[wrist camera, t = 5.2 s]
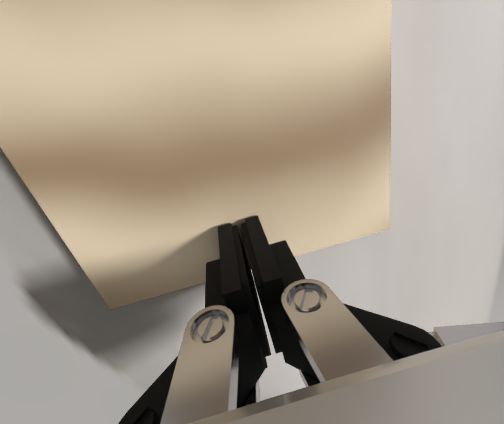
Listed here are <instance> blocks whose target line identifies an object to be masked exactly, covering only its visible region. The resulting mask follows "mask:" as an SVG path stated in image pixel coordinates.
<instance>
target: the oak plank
mask: <svg viewBox="0 0 504 424" xmlns="http://www.w3.org/2000/svg"><path fill="white" fill-rule="evenodd" d="M0 147H1V149H2V150H3V152H4V153H5V155H6V156H7V158H8V159H9V161H10V162H11V164H12V165H13V167H14V168H15V170H16V171H17V173H18V174H19V176H20V177H21V179H22V180H23V182H24V183H25V184H26V186H27V187H28V189H29V190H30V192H31V193H32V195H33V196H34V198H35V199H36V201H37V202H38V204H39V205H40V207H41V208H42V210H43V211H44V213H45V214H46V216H47V217H48V219H49V220H50V221H51V223H52V224H53V226H54V227H55V229H56V230H57V232H58V233H59V235H60V236H61V238H62V239H63V241H64V242H65V244H66V245H67V247H68V248H69V250H70V251H71V253H72V254H73V256H74V257H75V259H76V260H77V261H78V263H79V264H80V266H81V267H82V269H83V270H84V272H85V273H86V275H87V276H88V278H89V279H90V281H91V282H92V284H93V285H94V287H95V288H96V290H97V291H98V293H99V294H100V296H101V297H102V299H103V300H104V301H105V303H106V304H107V306H108V307H109V309H110V310H112V309H116V308H119V307H122V306H126V305H129V304H133V303H136V302H140V301H143V300H147V299H150V298H154V297H157V296H160V295H164V294H167V293H171V292H174V291H178V290H181V289H185V288H188V287H192V286H195V285H198V284H202V283H205V282H206V263H207V262H210V261H213V260H217V259H220V255H219V240H218V226H222V225H225V224H229V223H231V225H232V226H234V225H237V227H238V230H239V233H240V237H241V240H242V243H243V247H244V250H245V253H246V257H247V260H248V263H249V266H250V269H251V265H250V260H249V256H248V252H247V248H246V243H245V239H244V235H243V231H242V227H241V223H245V222H246V221H245V219H246V218H250V217H253V216H257V215H258V217H259V220H260V222H261V225H262V228H263V230H264V233H265V235H266V238H267V240H268V243H269V244H273V243H276V242H280V241H283V240H286V242H287V244H288V246H289V248H290V250H291V252H292V254H293V255H294V257H295V256H299V255H302V254H306V253H309V252H312V251H316V250H319V249H323V248H326V247H330V246H333V245H337V244H340V243H344V242H347V241H350V240H354V239H357V238H361V237H364V236H368V235H371V234H375V233H378V232H381V231H385V230H388V229H390V151H391V0H0Z"/></svg>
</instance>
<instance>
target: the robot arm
mask: <svg viewBox="0 0 504 424" xmlns="http://www.w3.org/2000/svg"><path fill="white" fill-rule="evenodd" d="M245 221H246V222H245V223H241V227H242V231H243V235H244V239H245V243H246V248H247V252H248V256H249V260H250V265H251V269H252V273H253V276H252V273H251V270H250V266H249V263H248V260H247V257H246V253H245V250H244V247H243V243H242V240H241V237H240V233H239V230H238V227H237V225H234V226H232V225H231V223H229V224H225V225H222V226H218V240H219V255H220V259H217V260H213V261H210V262H207V263H206V287H205V308H204V309H203V310H201V311H199V312H198V313H197V314H195V315H194V316H193V317H192V318H191V320H190V321H189V322H188V324H187V327H186V329H185V332H184V336H183V340H182V344H181V347H180V351H179V355H178V356H177V357H176V359H175V360H174V361H173V362H172V363H171V364H170V365H169V366H168V367H167V368H166V370H165V371H164V372H163V373H162V374H161V375H160V376H159V377H158V378H157V380H156V381H155V382H154V383H153V384H152V385H151V386H150V387H149V388H148V389H147V391H146V392H145V393H144V394H143V395H142V396H141V397H140V398H139V399H138V401H137V402H136V403H135V404H134V405H133V406H132V407H131V408H130V409H129V410H128V412H127V413H126V414H125V416H124V417H123V418H122V419H121V421H120V422H119V424H504V322H497V323H483V324H470V325H457V326H444V327H434V332H426V331H425V330H423V329H420V328H418V327H416V326H413V325H410V324H407V323H404V322H400V321H397V320H394V319H391V318H388V317H385V316H381V315H378V314H375V313H372V312H369V311H365V310H362V309H359V308H356V307H353V306H349V305H346V304H343V303H342V302H341V301H340V299H339V298H338V297H337V296H336V295H335V294H334V293H333V291H332V290H331V289H330V288H329V287H328V286H327V285H325V284H324V283H323V282H320V281H318V280H313V279H305V277H304V275H303V273H302V271H301V269H300V267H299V265H298V263H297V261H296V259H295V257H294V255H293V254H292V252H291V250H290V248H289V246H288V244H287V242H286V240H283V241H280V242H276V243H273V244H269V243H268V240H267V238H266V235H265V233H264V230H263V228H262V225H261V222H260V220H259V217H258V215H257V216H253V217H250V218H246V219H245ZM253 277H254V280H253ZM254 281H255V284H254ZM255 285H256V288H255ZM256 289H257V292H258V295H259V299H260V302H261V305H262V309H263V312H264V315H265V319H266V322H267V325H268V329H269V332H270V335H271V338H272V342H273V345H274V348H275V352H276V353H279V352H283V356H284V359H285V362H286V363H288V364H290V365H291V366H293V367H295V368H297V369H299V372H300V375H301V378H302V380H303V382H304V384H305V386H306V388H302V389H299V390H296V391H293V392H289V393H286V394H283V395H279V396H276V397H273V398H270V399H266V400H263V401H260V386H259V381H258V380H259V378H260V376H261V375H262V373H263V371H264V370H265V368H267V362H266V358H265V357H266V356H269V355H271V352H270V348H269V343H268V339H267V335H266V331H265V326H264V322H263V318H262V314H261V309H260V305H259V301H258V297H257V292H256Z"/></svg>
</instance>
